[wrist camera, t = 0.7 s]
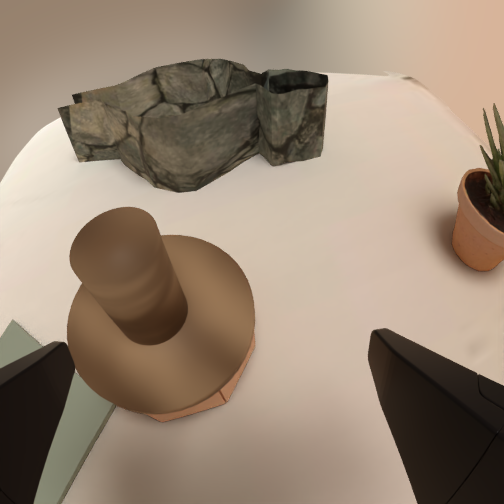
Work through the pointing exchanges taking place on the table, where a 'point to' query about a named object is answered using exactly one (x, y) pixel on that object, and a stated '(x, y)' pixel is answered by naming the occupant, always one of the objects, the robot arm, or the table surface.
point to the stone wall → (199, 121)
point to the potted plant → (482, 208)
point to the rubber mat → (61, 422)
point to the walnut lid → (155, 314)
